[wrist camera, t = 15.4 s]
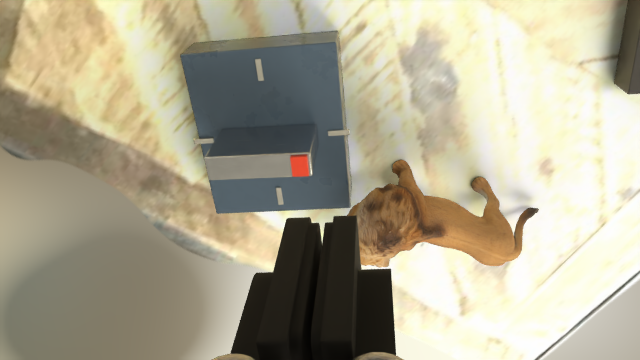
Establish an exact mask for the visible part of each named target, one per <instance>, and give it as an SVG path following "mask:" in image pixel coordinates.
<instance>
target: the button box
mask: <svg viewBox="0 0 640 360" xmlns="http://www.w3.org/2000/svg"><path fill="white" fill-rule="evenodd" d="M614 84H616V85H617V86H618V87H619V88H621V89H622V90H623V91H625V92H626V93H627V94H640V0H628V5H627V11H626V17H625V22H624V28H623V34H622V40H621V46H620V52H619V57H618V63H617V69H616V75H615V81H614Z"/></svg>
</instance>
